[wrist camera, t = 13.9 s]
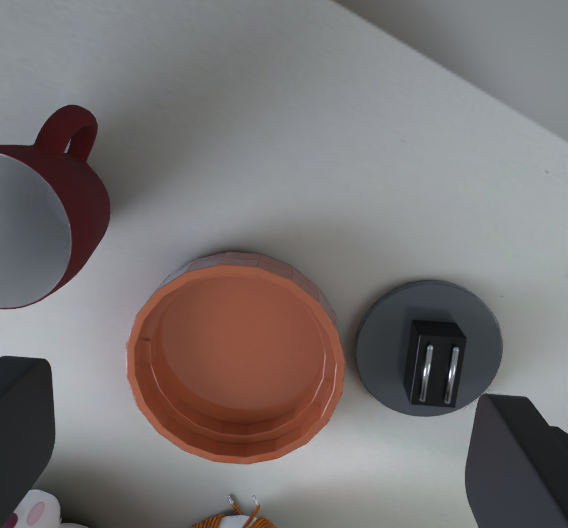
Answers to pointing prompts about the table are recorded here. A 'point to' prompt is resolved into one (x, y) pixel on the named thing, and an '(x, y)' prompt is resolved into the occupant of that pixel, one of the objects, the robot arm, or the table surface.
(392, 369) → the plate
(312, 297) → the bowl
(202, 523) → the coil
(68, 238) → the mug
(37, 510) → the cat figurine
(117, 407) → the table surface
